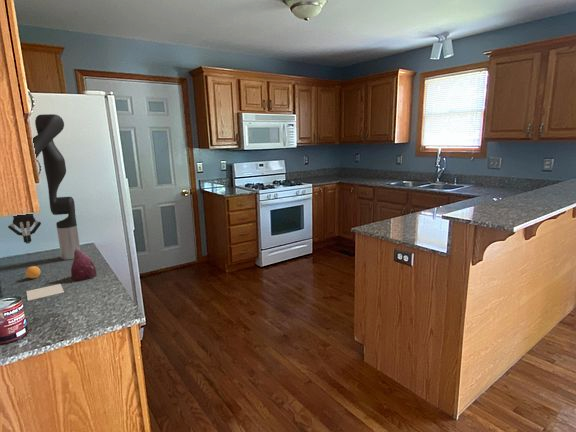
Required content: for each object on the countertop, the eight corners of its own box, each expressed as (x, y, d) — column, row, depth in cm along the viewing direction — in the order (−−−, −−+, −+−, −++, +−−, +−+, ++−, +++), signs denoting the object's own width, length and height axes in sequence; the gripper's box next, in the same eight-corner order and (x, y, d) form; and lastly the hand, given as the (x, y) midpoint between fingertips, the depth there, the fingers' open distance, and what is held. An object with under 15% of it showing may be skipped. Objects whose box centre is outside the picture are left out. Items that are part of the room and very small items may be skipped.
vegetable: (69, 285, 158) (55, 255, 155) (90, 275, 167) (77, 246, 164) (81, 283, 152) (67, 252, 150) (102, 273, 161) (89, 243, 159)
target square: (26, 291, 143) (26, 291, 143) (60, 284, 151) (60, 283, 151) (27, 300, 134) (27, 300, 134) (64, 292, 141) (64, 292, 141)
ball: (26, 277, 160) (24, 266, 159) (40, 275, 163) (39, 263, 162) (26, 281, 156) (24, 269, 154) (41, 278, 159) (39, 266, 158)
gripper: (38, 204, 168) (44, 239, 171) (3, 207, 160) (10, 244, 163) (39, 206, 162) (45, 242, 165) (3, 209, 154) (10, 247, 157)
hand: (27, 243), depth 164 cm, fingers closed
